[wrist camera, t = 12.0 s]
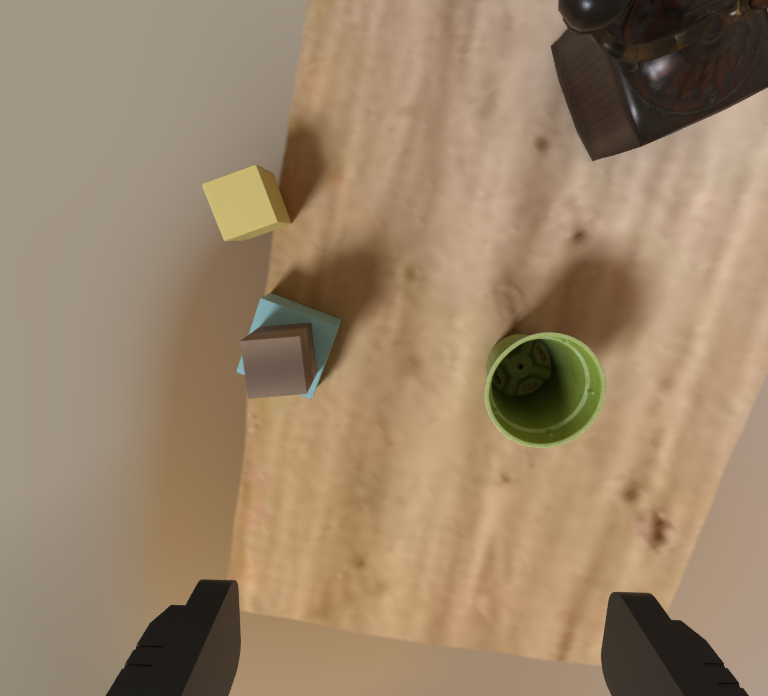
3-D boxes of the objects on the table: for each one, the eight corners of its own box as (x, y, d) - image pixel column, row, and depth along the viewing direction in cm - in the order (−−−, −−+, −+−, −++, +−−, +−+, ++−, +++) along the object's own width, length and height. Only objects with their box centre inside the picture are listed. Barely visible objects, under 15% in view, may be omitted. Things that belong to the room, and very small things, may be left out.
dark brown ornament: (665, -23, 41) (872, -213, 24) (706, 111, 43) (923, 28, 26) (487, 66, 43) (556, -49, 25) (535, 191, 45) (629, 165, 27)
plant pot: (450, 347, 48) (463, 372, 40) (539, 296, 47) (573, 310, 38) (497, 428, 50) (519, 468, 41) (584, 380, 49) (626, 411, 40)
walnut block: (259, 326, 44) (239, 341, 38) (311, 322, 44) (299, 336, 38) (266, 377, 45) (248, 398, 39) (317, 372, 45) (306, 393, 39)
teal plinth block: (271, 292, 47) (260, 298, 43) (342, 319, 48) (338, 327, 44) (248, 360, 49) (236, 372, 45) (317, 386, 49) (311, 399, 45)
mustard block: (225, 190, 45) (201, 184, 39) (273, 173, 45) (255, 164, 39) (245, 240, 46) (224, 241, 40) (291, 223, 46) (277, 222, 40)
